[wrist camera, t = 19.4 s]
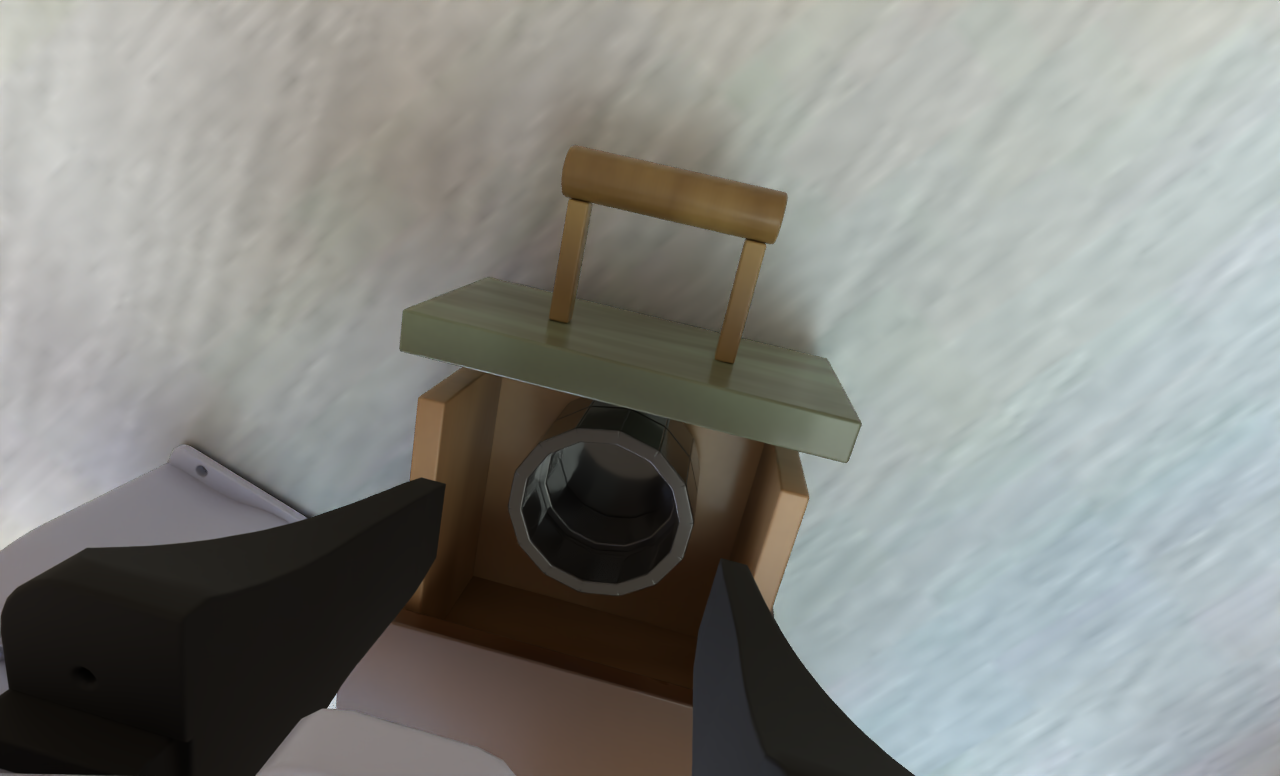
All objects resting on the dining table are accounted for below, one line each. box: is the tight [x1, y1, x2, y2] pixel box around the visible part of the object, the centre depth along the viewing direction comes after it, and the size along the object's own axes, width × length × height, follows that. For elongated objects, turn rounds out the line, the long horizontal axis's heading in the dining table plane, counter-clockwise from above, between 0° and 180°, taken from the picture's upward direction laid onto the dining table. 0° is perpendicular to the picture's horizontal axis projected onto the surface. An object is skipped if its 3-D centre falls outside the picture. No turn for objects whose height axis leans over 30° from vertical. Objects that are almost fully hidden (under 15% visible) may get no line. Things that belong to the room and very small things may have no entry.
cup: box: [508, 397, 700, 596], centre depth 21 cm, size 6×6×4 cm
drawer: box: [399, 145, 862, 689], centre depth 21 cm, size 17×12×6 cm
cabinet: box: [336, 607, 774, 776], centre depth 24 cm, size 13×13×8 cm
